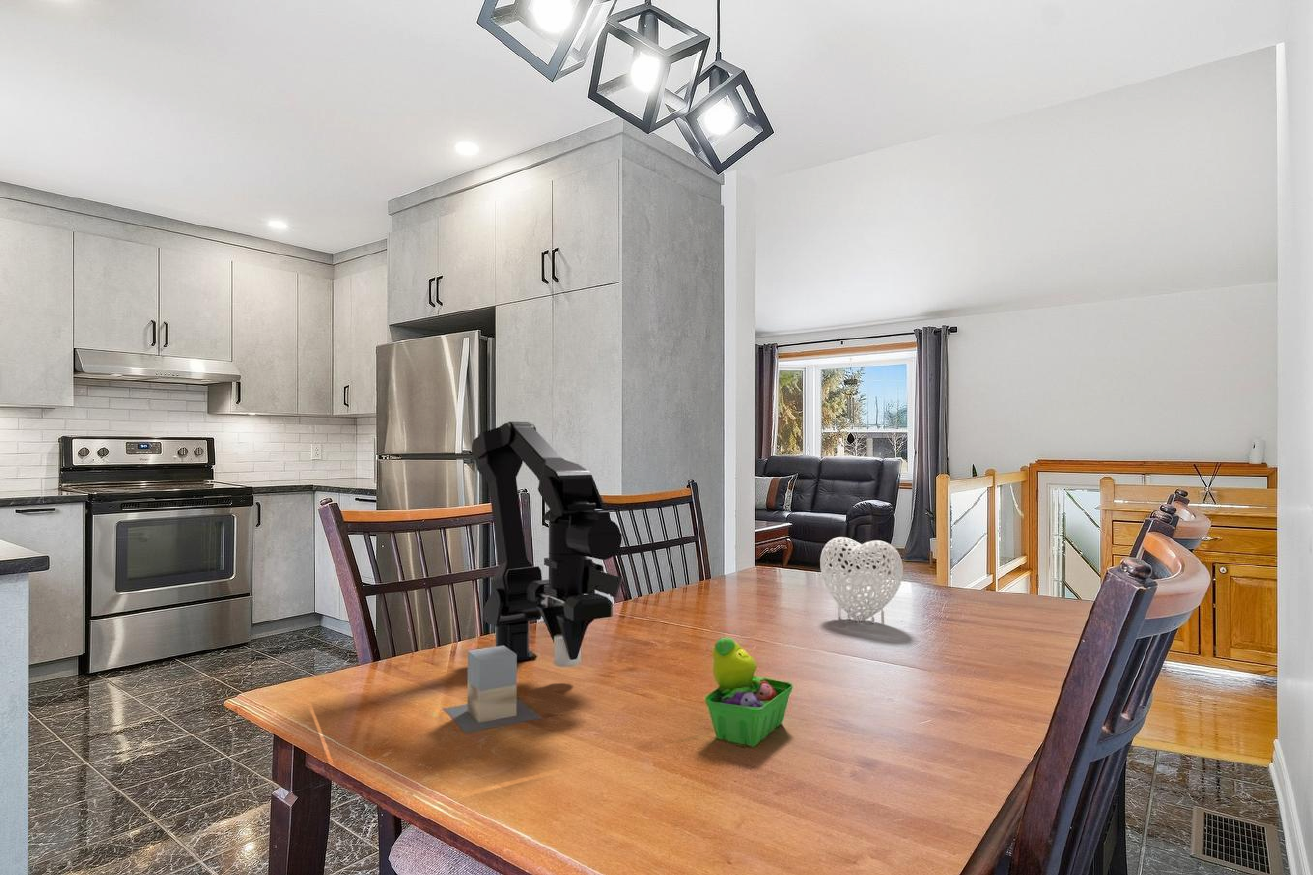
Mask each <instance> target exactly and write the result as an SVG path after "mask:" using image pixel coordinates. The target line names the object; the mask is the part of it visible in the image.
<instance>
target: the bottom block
mask: <svg viewBox="0 0 1313 875" xmlns="http://www.w3.org/2000/svg"><path fill="white" fill-rule="evenodd" d="M516 697H517V685H513V686H507V687H501V688H495V689H490V690H484V691H478V690H477V689H476V688H475V687H474V686H473V685H472V684H471V683H470V682H468V681H467V699H466V700H467V703H466V704H467V711H468V712H469V713H470V714H471V715H472V716H473V717H474V718H475V719H476V720H477V721H478V722H479V723H481V722H486V721H491V720H496V719H501V718H506V717H511V716H516Z"/></svg>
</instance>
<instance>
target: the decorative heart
mask: <svg viewBox="0 0 1313 875" xmlns="http://www.w3.org/2000/svg"><path fill="white" fill-rule="evenodd" d="M843 549H845V550H843ZM840 554H842V556H841V555H840ZM884 557H885V558H884ZM839 560H840V561H839ZM888 560H889V561H888ZM845 561H846V562H847V563H846V562H845ZM884 563H885V564H884ZM819 564H820V565H819V567H820V573H821V576H822V580H823V582H824V585H825V586H826V589H827V590H828V593H829V594H830V595H831V597H832V598H833V599H834V601H835V602H836V604H837V618H838V617H841V615H842V610H843V611H844V612H845V613H847V619H848V618H850V619H851V618H852V619H853V620H854V621H855V620H856V621H855V622H858V621H863V622H865V621H866V620H868V619H870V618H871V623H874V624H875V617H874V616H875V615H876V614H877V613H879V612H881V613H880V614H881V615H880V616H881V618H880V621H881V622H880V624H881V623H882V624H884V625H885V610H883V609H884V608H885V607H886V606H887V605H888V604H889V603H890V602H891V601H892V600H893V598H895V595H896V594H897V592H898V591H899V589H900V586H901V584H902V580H903V572H904V565H903V560H902V558H901V555H900V553H899V551H898V550H897V549H896V548H895V547H894V545H892V544H891V543H889V542H886V541H883V540H878V539H877V540H876V539H875V540H869V541H865V542H864V543H860V542H858V541H856V540H854V539H852V538H849V537H846V536H845V537H844V536H838V537H834V538H832V539H830V540H828V542H826V544H825V545H824V547H823V548H822V550H821V554H820V559H819ZM830 564H831V565H830ZM851 564H852V566H851ZM883 564H884V565H883ZM842 566H844V568H843V567H842ZM857 566H858V567H859V568H857ZM873 566H875V568H873ZM849 571H850V572H849ZM889 571H890V574H889ZM847 587H849V588H850V589H847ZM868 587H869V588H870V589H868ZM865 594H867V595H865ZM859 595H860V596H859ZM841 618H842V617H841Z"/></svg>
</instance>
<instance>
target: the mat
mask: <svg viewBox="0 0 1313 875" xmlns="http://www.w3.org/2000/svg"><path fill="white" fill-rule="evenodd" d="M443 710H444V711H445V712H446V714H448V715H449V717H450V718H451V719H452V720H453V722H455V724H456V725H457V726H458V727H459V728H460V729H461V730H462V731H463V733H464V734H465V735H466V734H471V733H474V732H481V731H486V730H490V729H495V728H500V727H505V726H510V725H515V724H520V723H524V722H529V721H534V720H541V719H542V717H541V716H540V715H538V714H537V712H536V711H534V710H532V709H531V708H530V707H529V706H528V705H526V704H525V703H524V702H523V701H522V700H520V698H518V697H517V696H516V716H511V717H506V718H501V719H496V720H491V721H486V722H481V723H479V722H478V721H477V720H476V719H475V718H474V717H473V716H472V715H471V714H470V713H469V712H468V711H467V703H466V704H462V705H455V706H450V707H446V708H443Z"/></svg>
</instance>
